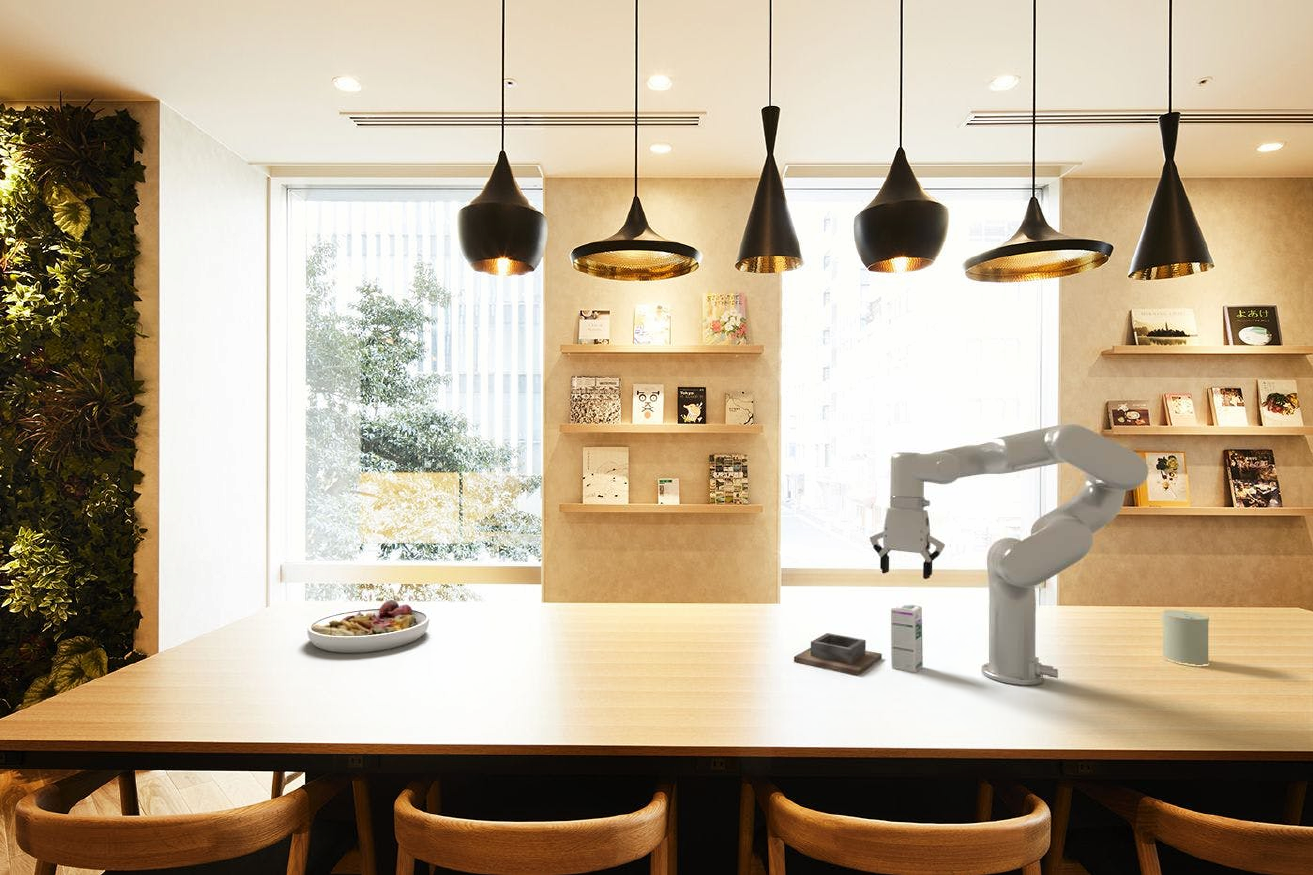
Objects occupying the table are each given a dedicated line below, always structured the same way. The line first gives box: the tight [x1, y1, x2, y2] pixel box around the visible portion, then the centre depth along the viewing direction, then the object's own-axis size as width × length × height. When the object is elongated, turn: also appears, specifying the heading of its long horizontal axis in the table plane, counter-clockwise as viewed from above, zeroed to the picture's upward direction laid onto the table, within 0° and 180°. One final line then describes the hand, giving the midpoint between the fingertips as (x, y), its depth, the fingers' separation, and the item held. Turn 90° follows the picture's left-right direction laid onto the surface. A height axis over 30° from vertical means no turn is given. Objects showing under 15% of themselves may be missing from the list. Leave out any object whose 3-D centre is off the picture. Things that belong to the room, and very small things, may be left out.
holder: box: [793, 632, 883, 677], centre depth 165 cm, size 16×16×5 cm
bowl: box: [307, 599, 430, 654], centre depth 180 cm, size 30×30×8 cm
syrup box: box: [890, 603, 924, 674], centre depth 160 cm, size 6×6×14 cm
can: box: [1161, 609, 1210, 665], centre depth 167 cm, size 9×9×12 cm
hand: (905, 575), depth 160 cm, fingers open, 9 cm apart
